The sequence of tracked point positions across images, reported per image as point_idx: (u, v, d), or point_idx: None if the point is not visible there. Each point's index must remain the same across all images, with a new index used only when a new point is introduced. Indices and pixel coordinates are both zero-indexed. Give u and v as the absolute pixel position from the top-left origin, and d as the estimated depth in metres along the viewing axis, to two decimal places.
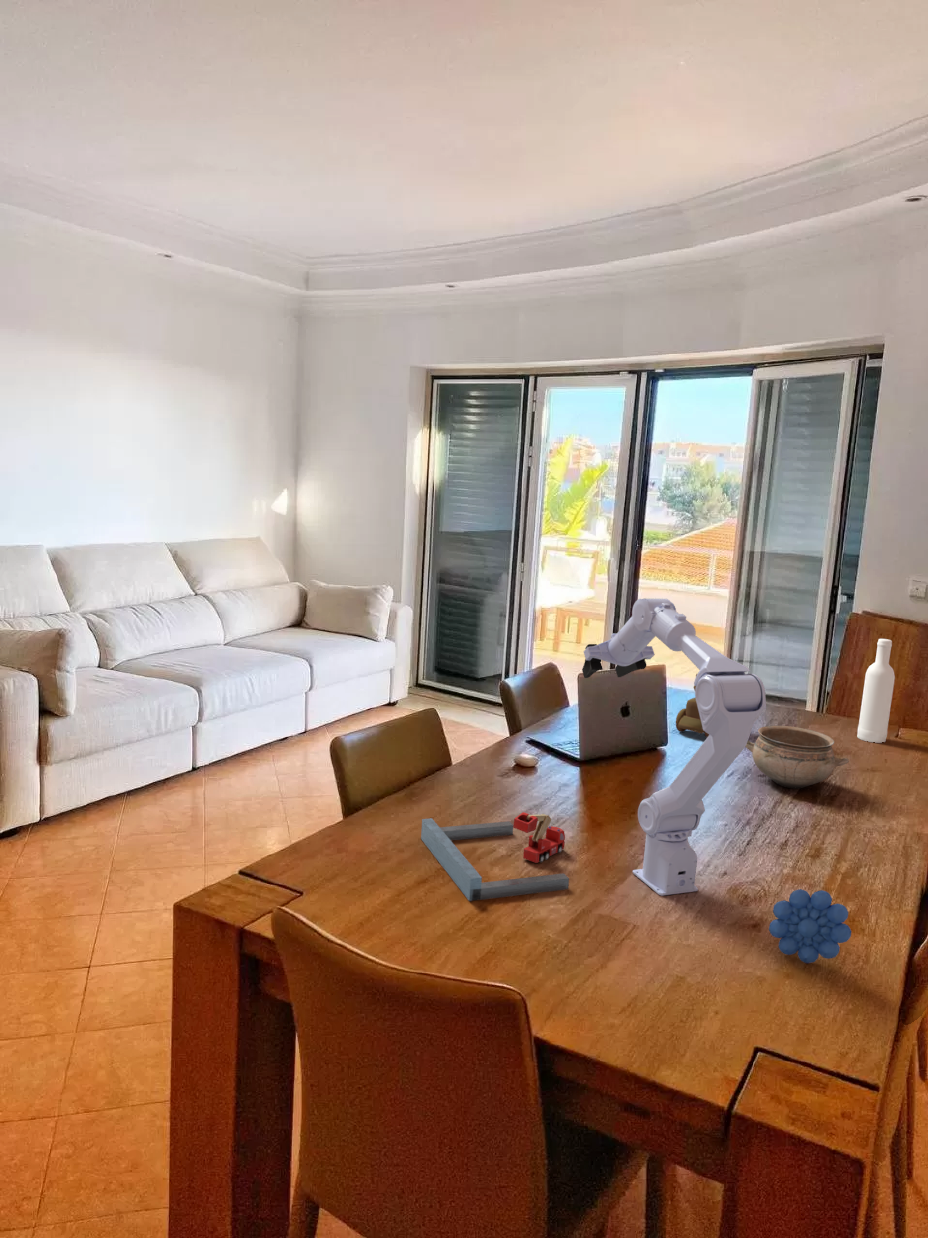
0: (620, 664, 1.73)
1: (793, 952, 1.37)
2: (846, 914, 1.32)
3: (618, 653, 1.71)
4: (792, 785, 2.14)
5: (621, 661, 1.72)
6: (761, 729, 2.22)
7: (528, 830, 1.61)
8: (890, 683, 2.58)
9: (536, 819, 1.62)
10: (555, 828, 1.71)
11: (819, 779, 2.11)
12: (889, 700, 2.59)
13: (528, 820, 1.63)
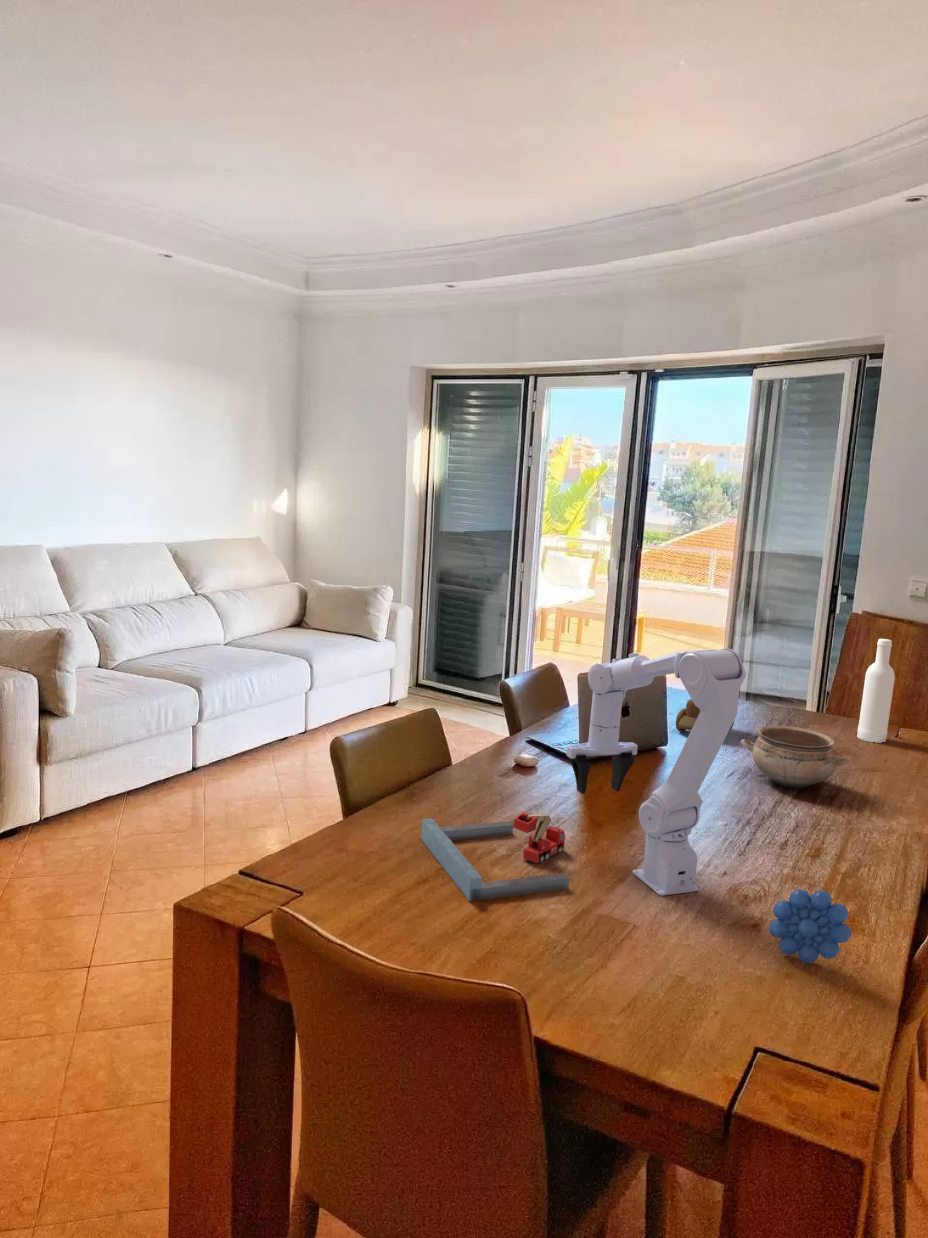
0: (605, 752, 1.71)
1: (793, 952, 1.37)
2: (846, 914, 1.32)
3: (597, 738, 1.71)
4: (792, 785, 2.14)
5: (604, 747, 1.71)
6: (761, 729, 2.22)
7: (528, 830, 1.61)
8: (890, 683, 2.58)
9: (536, 819, 1.62)
10: (555, 828, 1.71)
11: (819, 779, 2.11)
12: (889, 700, 2.59)
13: (528, 820, 1.63)
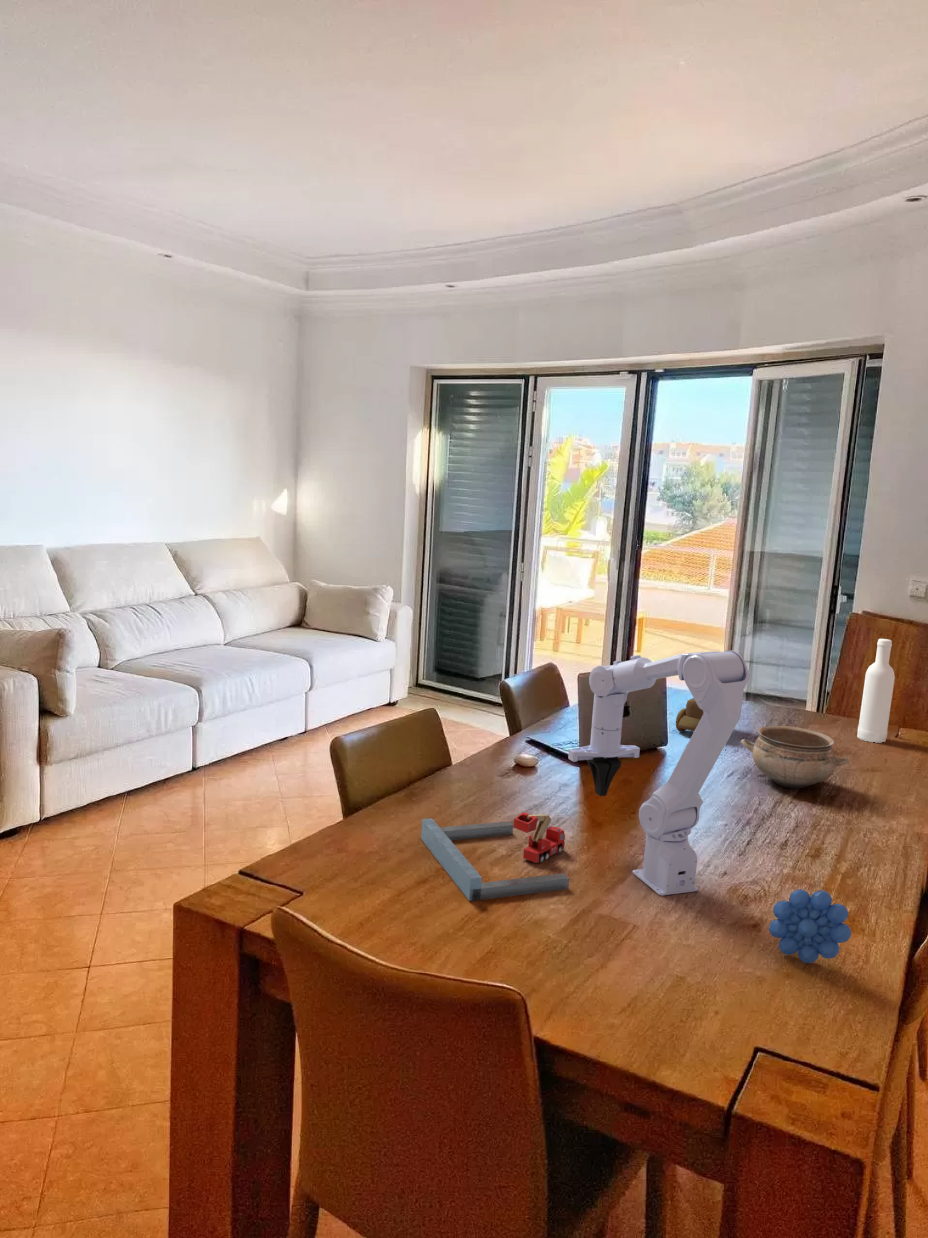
0: (607, 755, 1.70)
1: (793, 952, 1.37)
2: (846, 914, 1.32)
3: (599, 741, 1.70)
4: (792, 785, 2.14)
5: (606, 750, 1.70)
6: (761, 729, 2.22)
7: (528, 830, 1.61)
8: (890, 683, 2.58)
9: (536, 819, 1.62)
10: (555, 828, 1.71)
11: (819, 779, 2.11)
12: (889, 700, 2.59)
13: (528, 820, 1.63)
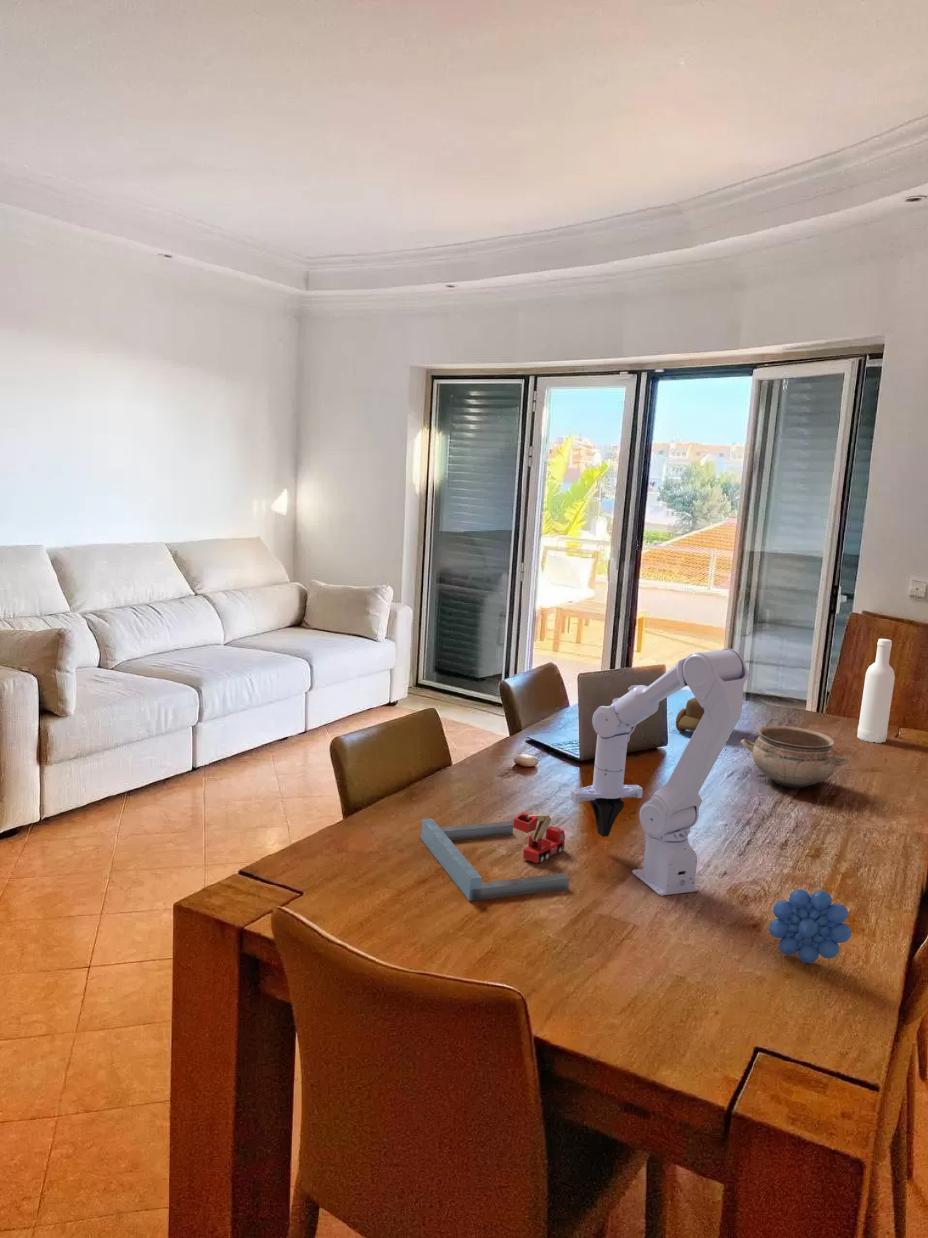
0: (610, 796, 1.68)
1: (793, 952, 1.37)
2: (846, 914, 1.32)
3: (601, 782, 1.68)
4: (792, 785, 2.14)
5: (609, 792, 1.68)
6: (761, 729, 2.22)
7: (528, 830, 1.61)
8: (890, 683, 2.58)
9: (536, 819, 1.62)
10: (555, 828, 1.71)
11: (819, 779, 2.11)
12: (889, 700, 2.59)
13: (528, 820, 1.63)
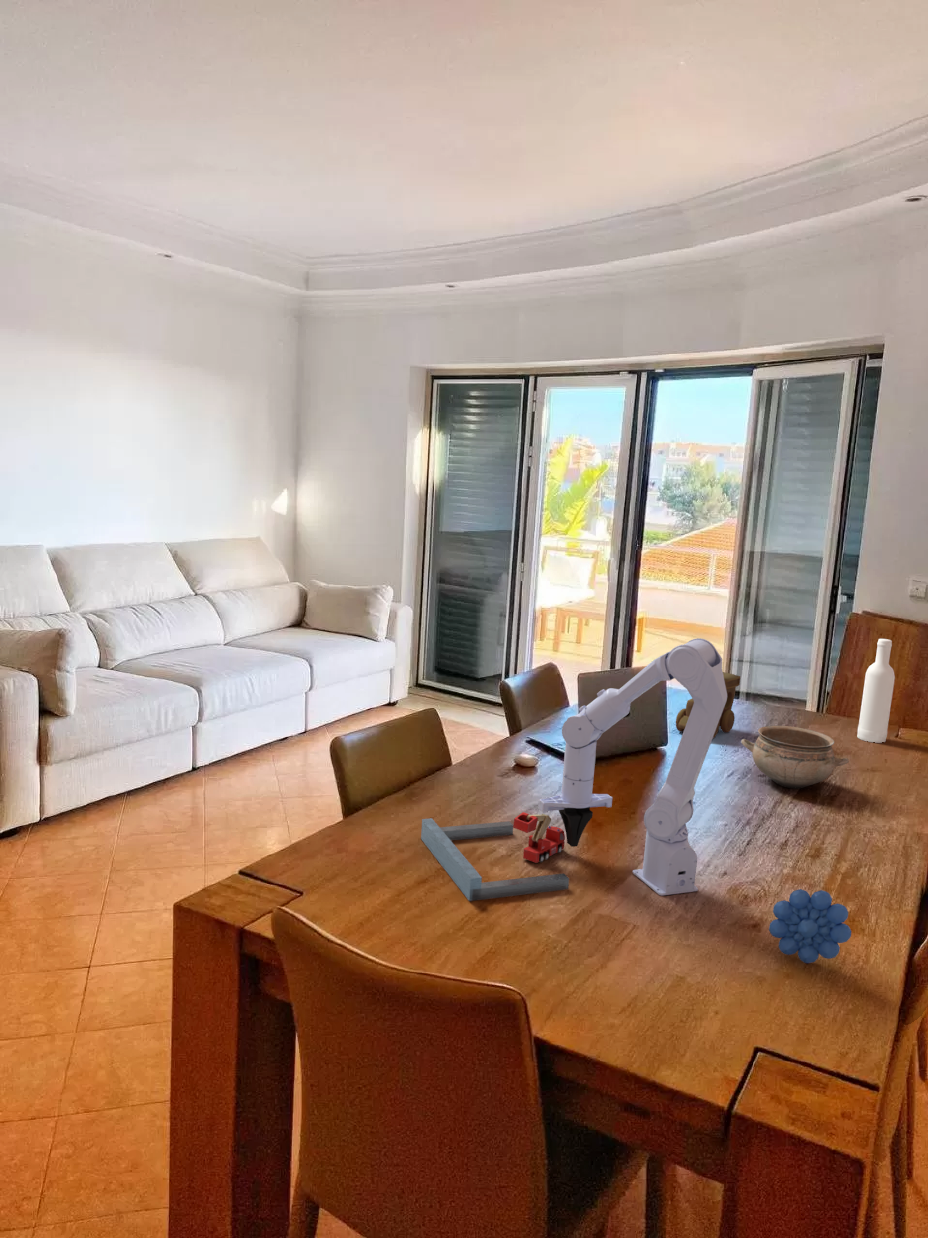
0: (578, 805, 1.66)
1: (793, 952, 1.37)
2: (846, 914, 1.32)
3: (570, 791, 1.66)
4: (792, 785, 2.14)
5: (577, 801, 1.66)
6: (761, 729, 2.22)
7: (528, 830, 1.61)
8: (890, 683, 2.58)
9: (536, 819, 1.62)
10: (555, 828, 1.71)
11: (819, 779, 2.11)
12: (889, 700, 2.59)
13: (528, 820, 1.63)
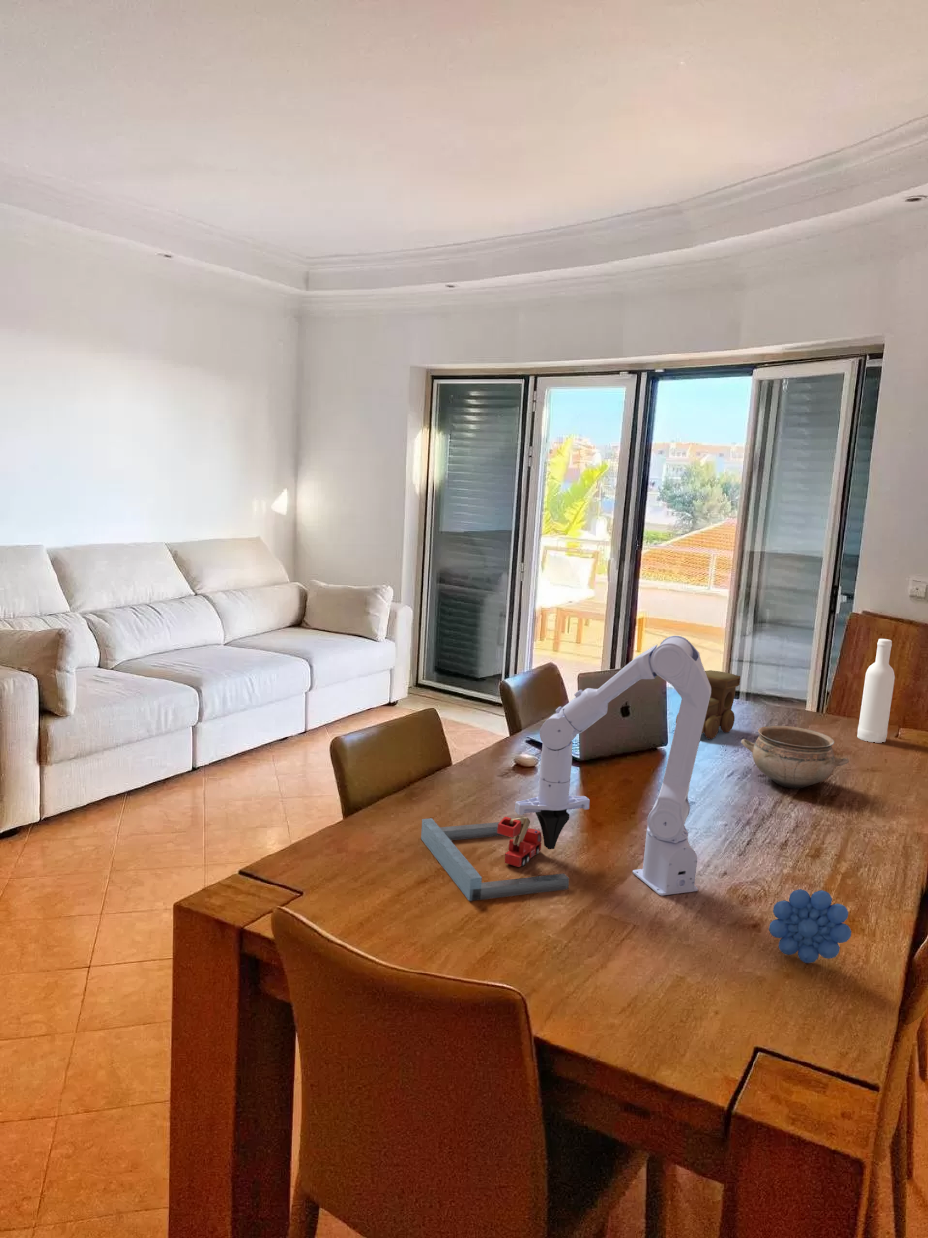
0: (554, 808, 1.64)
1: (793, 952, 1.37)
2: (846, 914, 1.32)
3: (546, 793, 1.64)
4: (792, 785, 2.14)
5: (554, 803, 1.64)
6: (761, 729, 2.22)
7: (513, 835, 1.58)
8: (890, 683, 2.58)
9: (520, 823, 1.60)
10: (532, 830, 1.70)
11: (819, 779, 2.11)
12: (889, 700, 2.59)
13: (511, 824, 1.60)
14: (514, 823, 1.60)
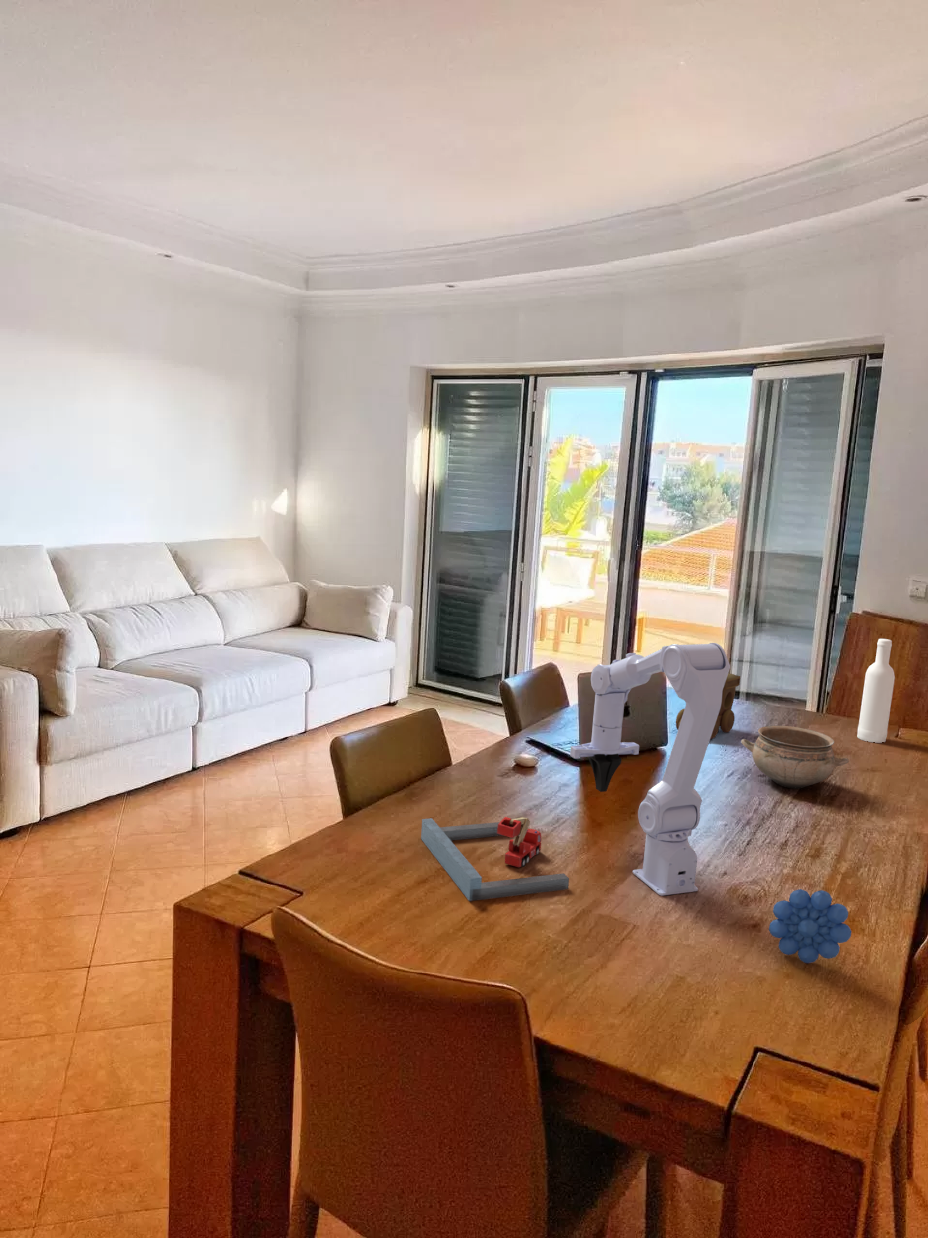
0: (608, 752, 1.74)
1: (793, 952, 1.37)
2: (846, 914, 1.32)
3: (600, 738, 1.75)
4: (792, 785, 2.14)
5: (607, 747, 1.74)
6: (761, 729, 2.22)
7: (513, 835, 1.58)
8: (890, 683, 2.58)
9: (520, 823, 1.60)
10: (532, 830, 1.70)
11: (819, 779, 2.11)
12: (889, 700, 2.59)
13: (511, 825, 1.60)
14: (514, 823, 1.60)
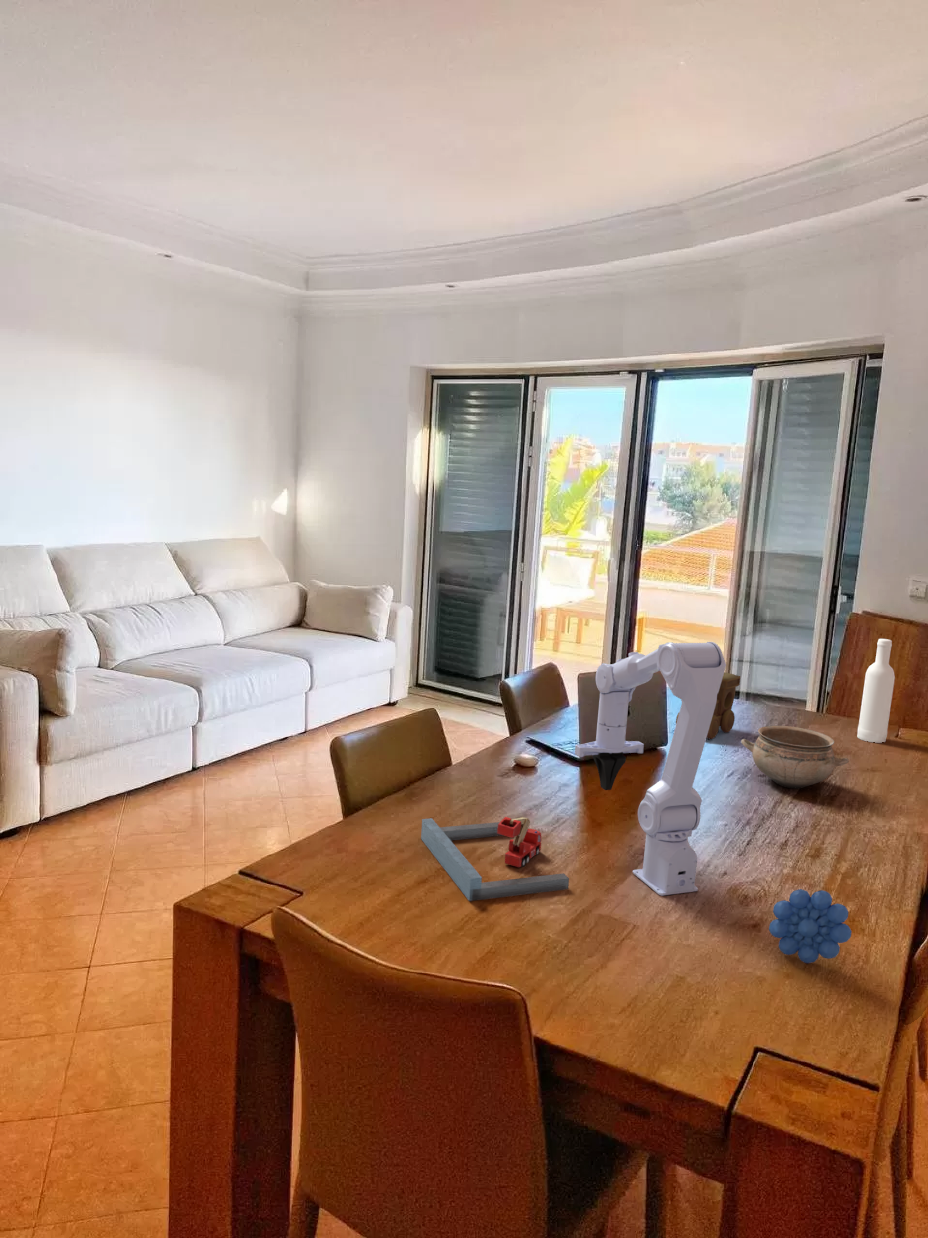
0: (612, 750, 1.76)
1: (793, 952, 1.37)
2: (846, 914, 1.32)
3: (604, 737, 1.76)
4: (792, 785, 2.14)
5: (612, 746, 1.76)
6: (761, 729, 2.22)
7: (513, 835, 1.58)
8: (890, 683, 2.58)
9: (520, 823, 1.60)
10: (532, 830, 1.70)
11: (819, 779, 2.11)
12: (889, 700, 2.59)
13: (511, 825, 1.60)
14: (514, 823, 1.60)
